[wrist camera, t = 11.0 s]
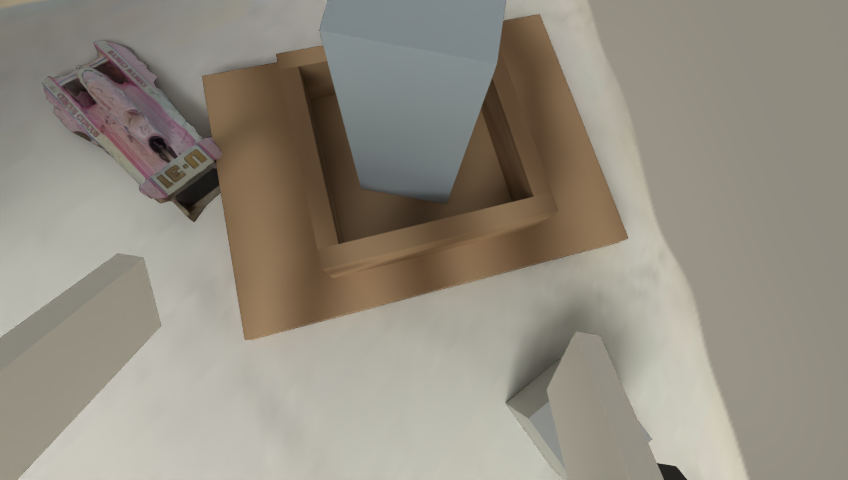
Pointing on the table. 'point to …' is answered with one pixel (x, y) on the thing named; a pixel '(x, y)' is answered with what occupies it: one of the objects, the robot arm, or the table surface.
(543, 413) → the grey block
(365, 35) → the block
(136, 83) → the pink elongated piece
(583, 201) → the tray
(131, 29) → the table surface
